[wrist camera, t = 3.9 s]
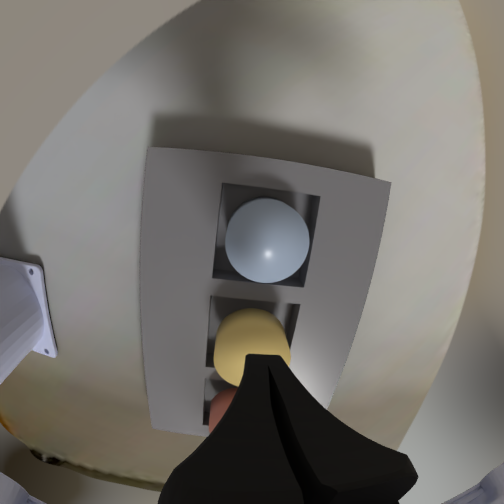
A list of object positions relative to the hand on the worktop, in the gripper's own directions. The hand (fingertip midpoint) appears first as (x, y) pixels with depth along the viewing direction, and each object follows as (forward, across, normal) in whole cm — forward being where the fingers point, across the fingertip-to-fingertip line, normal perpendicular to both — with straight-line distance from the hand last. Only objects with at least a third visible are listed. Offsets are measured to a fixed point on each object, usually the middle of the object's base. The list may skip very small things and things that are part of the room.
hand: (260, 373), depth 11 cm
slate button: (+6, 0, -4) cm, 8 cm away
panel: (+7, 0, +2) cm, 8 cm away
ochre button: (+5, 0, +2) cm, 6 cm away
